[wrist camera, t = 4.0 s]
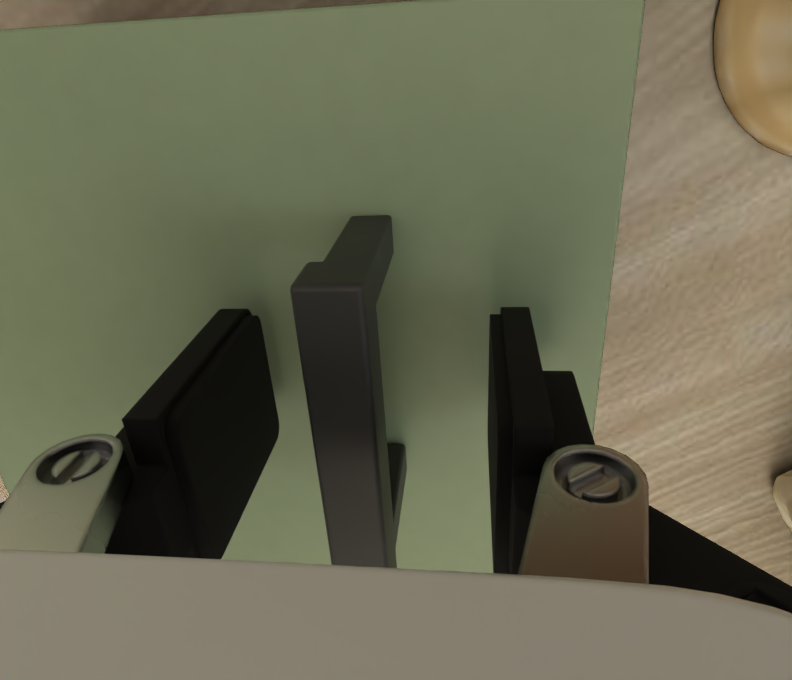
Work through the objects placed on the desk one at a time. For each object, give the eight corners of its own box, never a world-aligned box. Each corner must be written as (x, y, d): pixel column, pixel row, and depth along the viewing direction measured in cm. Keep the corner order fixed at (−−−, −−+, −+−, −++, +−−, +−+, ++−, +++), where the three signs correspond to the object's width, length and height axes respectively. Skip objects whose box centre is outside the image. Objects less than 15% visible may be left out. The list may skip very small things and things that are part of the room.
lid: (48, 537, 18) (-78, 689, 14) (-176, 43, 11) (-526, 52, 7) (572, 561, 16) (608, 747, 12) (639, -14, 10) (762, -45, 6)
